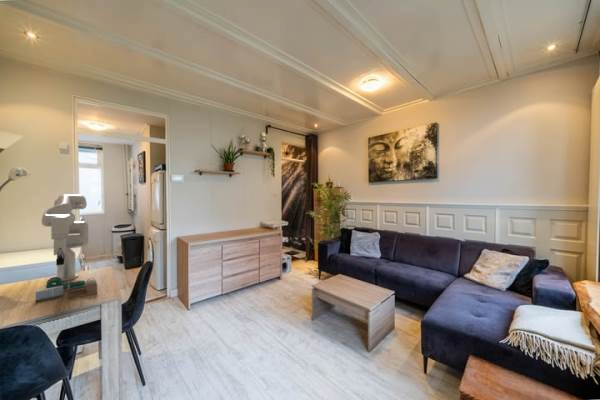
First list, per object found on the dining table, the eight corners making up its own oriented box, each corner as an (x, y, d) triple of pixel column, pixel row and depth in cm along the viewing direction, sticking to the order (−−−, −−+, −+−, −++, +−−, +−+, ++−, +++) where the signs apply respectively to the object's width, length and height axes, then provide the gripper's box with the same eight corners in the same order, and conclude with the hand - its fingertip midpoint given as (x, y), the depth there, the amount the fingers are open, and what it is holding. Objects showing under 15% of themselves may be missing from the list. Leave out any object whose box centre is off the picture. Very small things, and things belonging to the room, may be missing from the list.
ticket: (36, 298, 134) (36, 290, 134) (63, 293, 142) (62, 285, 142) (35, 300, 133) (35, 291, 132) (63, 294, 141) (62, 286, 140)
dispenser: (67, 295, 141) (67, 281, 141) (95, 289, 150) (95, 276, 150) (68, 299, 135) (67, 285, 135) (97, 293, 145) (97, 279, 145)
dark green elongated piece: (46, 293, 143) (46, 281, 143) (46, 290, 148) (46, 278, 148) (85, 285, 156) (85, 274, 156) (84, 282, 161) (84, 271, 161)
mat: (38, 298, 137) (38, 297, 137) (58, 294, 143) (58, 293, 143) (38, 302, 132) (38, 301, 132) (58, 297, 138) (58, 296, 138)
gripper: (52, 234, 146) (52, 260, 147) (50, 239, 133) (50, 267, 134) (69, 232, 151) (69, 258, 152) (68, 237, 139) (68, 265, 140)
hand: (60, 262), depth 143 cm, fingers open, 9 cm apart
